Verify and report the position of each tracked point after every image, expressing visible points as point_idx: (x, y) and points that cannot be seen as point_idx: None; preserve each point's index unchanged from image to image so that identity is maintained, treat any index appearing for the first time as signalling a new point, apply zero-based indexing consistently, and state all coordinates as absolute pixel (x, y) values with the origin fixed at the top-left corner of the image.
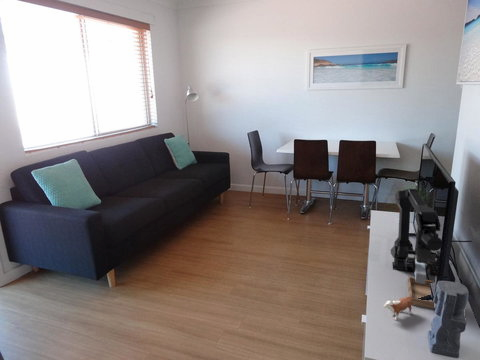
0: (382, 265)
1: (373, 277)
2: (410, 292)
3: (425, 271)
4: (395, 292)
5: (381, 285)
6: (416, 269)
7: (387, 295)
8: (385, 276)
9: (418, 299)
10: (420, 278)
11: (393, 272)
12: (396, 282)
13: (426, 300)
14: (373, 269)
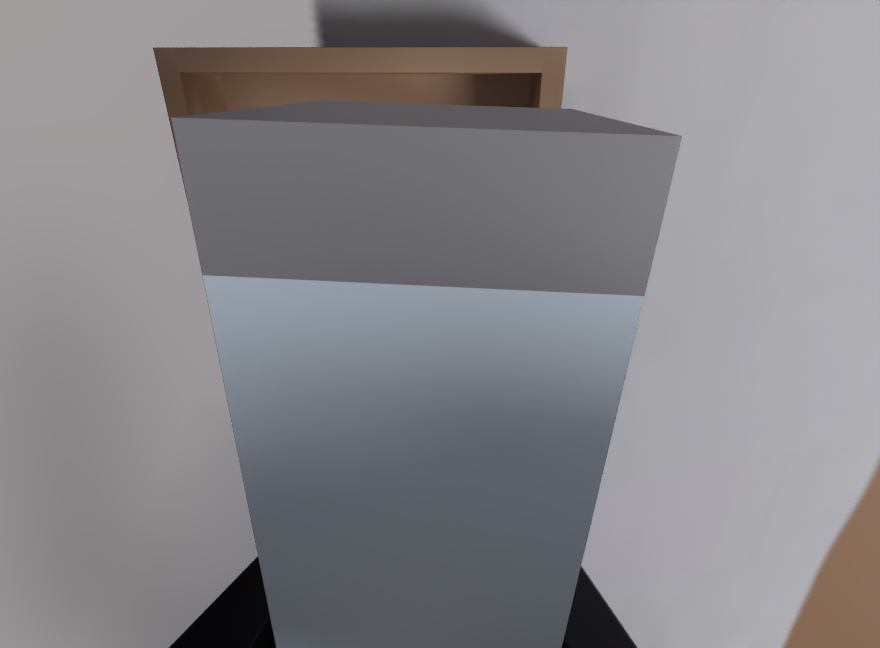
0: (690, 642)
1: (844, 473)
2: None
3: (249, 471)
4: (677, 269)
5: (804, 360)
6: (572, 523)
7: (799, 175)
8: (709, 511)
9: (456, 57)
10: (449, 114)
11: (616, 576)
12: (622, 446)
13: (346, 70)
14: (795, 583)
